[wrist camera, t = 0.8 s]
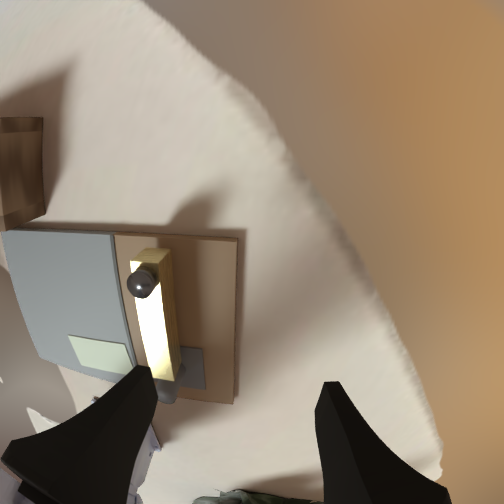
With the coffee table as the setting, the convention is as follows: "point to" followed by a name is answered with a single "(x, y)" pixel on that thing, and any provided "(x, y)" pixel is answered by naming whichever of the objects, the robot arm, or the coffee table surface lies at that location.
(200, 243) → the door board
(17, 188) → the display tray
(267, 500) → the rose bouquet
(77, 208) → the coffee table surface
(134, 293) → the latch bar
